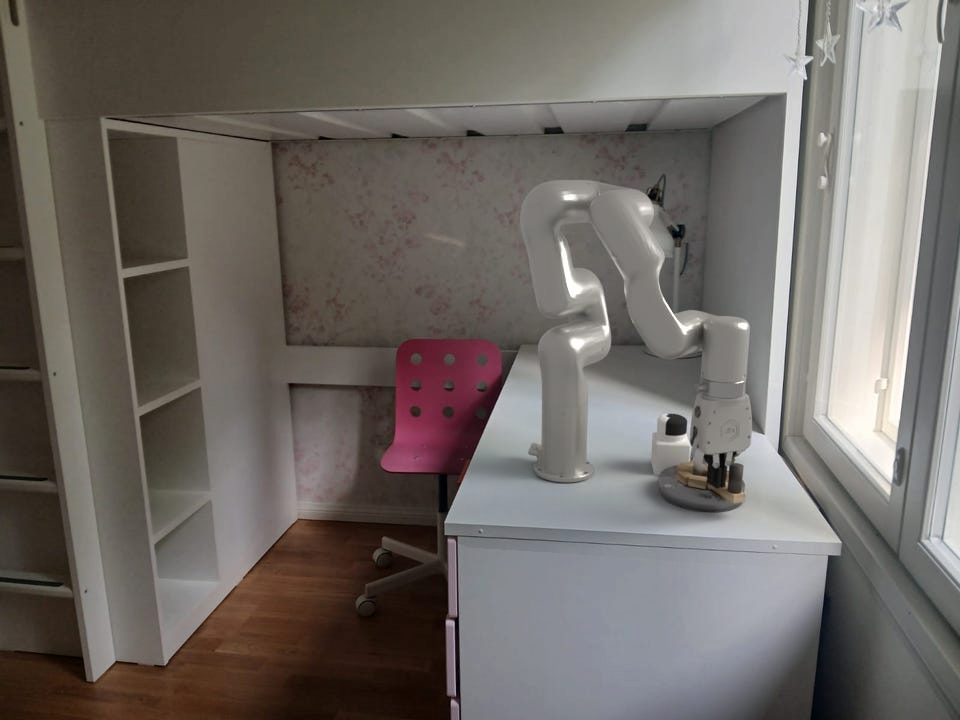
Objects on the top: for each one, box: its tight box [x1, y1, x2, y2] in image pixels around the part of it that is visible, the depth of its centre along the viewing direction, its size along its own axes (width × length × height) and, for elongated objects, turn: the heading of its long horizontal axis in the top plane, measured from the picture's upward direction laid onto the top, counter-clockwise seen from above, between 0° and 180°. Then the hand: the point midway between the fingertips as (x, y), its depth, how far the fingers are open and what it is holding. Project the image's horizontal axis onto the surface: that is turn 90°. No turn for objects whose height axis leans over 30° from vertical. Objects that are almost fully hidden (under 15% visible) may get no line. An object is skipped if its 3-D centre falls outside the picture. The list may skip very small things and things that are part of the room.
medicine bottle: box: [650, 413, 692, 476], centre depth 153 cm, size 7×7×12 cm
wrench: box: [675, 460, 746, 504], centre depth 137 cm, size 16×10×7 cm, turn 18°
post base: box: [658, 457, 746, 513], centre depth 141 cm, size 16×16×10 cm
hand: (716, 485), depth 131 cm, fingers closed
